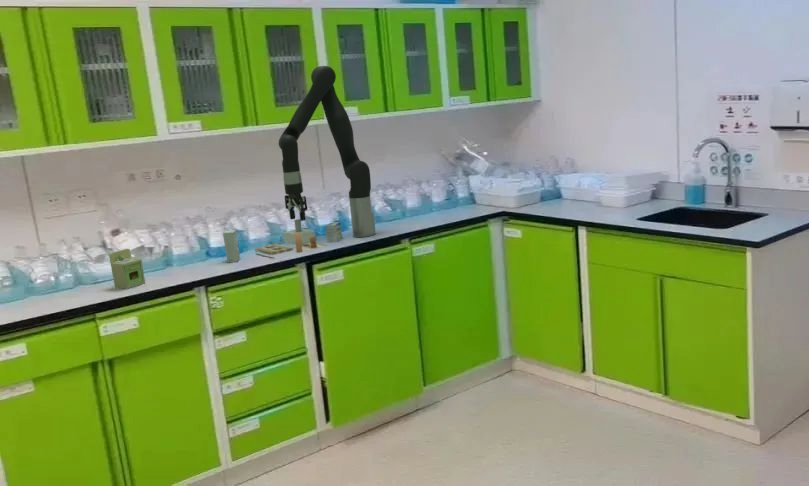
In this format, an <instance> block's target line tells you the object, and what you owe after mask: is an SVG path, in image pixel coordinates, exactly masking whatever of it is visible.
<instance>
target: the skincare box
mask: <svg viewBox="0 0 809 486" xmlns="http://www.w3.org/2000/svg"><path fill="white" fill-rule="evenodd" d="M222 237H223V242H224V249H225V255H226V261H227V263H237V262H238V261H240V260H241V255H240V249H239V243H238V236H237V230H236V229H232V230H226V231H224V232H223V233H222Z"/></svg>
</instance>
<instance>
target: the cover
mask: <svg viewBox="0 0 809 486" xmlns="http://www.w3.org/2000/svg"><path fill="white" fill-rule="evenodd" d="M293 220H294V227H295V229H292V230H291V229H290V230H288V231H283V232H282V233H283V240H284V243H287V244H291V245H294V246H296V242H295V233H301V241H302V245H303V244H308V243H310V237H316V232H315V230H312V229H307V228H302V221H301V220H300V218H299V219H293Z"/></svg>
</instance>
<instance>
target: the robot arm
mask: <svg viewBox="0 0 809 486" xmlns="http://www.w3.org/2000/svg"><path fill="white" fill-rule="evenodd" d="M336 75H337V74H336V72H335V70H334V69H333V67H331V66H328V65H321V66H316V67H315V68H314V69H313V70H312V72H311V75H310V79H311V83H312V84H311V87H310V89H309V91H308V92H307V95H306V96H305V97H304V98H303V100H302V102H300V104H299V105H298V107H297V108H296V110H295V112H294V113H293V115H292V116H291V119H290V121H289V123H288V125H287V126H286V128H285V129H284V130H283V132H282V133H281V135H280V136H279V139H278V146H279V149H280V150H281V154H282V161H281V166H282V173H283V178H282V179H283V185H284V193H285V194H286V195H284V205H285V209H286V210H288V212H289V219H290V220H296V212H295V208H296V209H297V210H298V212H299V219H300V220H301V222H304V221H306V220H307V219H306V211H308V205H307V204H308V203H307V197H306V195H302V193H303V192H304V188H303V179H302V173H301V167H300V163H299V144H298V139H299V138H300V136H301V135H302V134H303V133H304V132H305V131H306V128H308V125H309V123H310V121H311V120H312V118H313V116H314V114H315V111H316V110H317V108H318V106H319V104H320V103H321V105H322V109H323V112H324V115H325V119H326V121H327V125H328V128H329V130H330V133H331V135H332V137H333V140H334V143H335V146H336V148H337V151H338V153H339V156H340V159H341V164H342V168H343V172H344V175H345V176H346V178H347V179H349V181H350V182H349V183H350V189H349V191H348V199H349V207H350V219H351V228H352V230H351V231H352V237H354V238H365V237H366V238H367V237H371V236H374V235H376V233H377V232H376V223H375V213H374V212H372V201H371V190H372V189H371V187H372V185H371V183H372V182H371V172H370V171H371V170H370V167H369V164H368V163H366V162H365V161H363V160H361V159H360V158H359V155H358V153H357V150H356V147H355V141H354V139H355V138H354V130H353V126H352V123H351V120H350V118H349V115H348V112H347V111H346V108H345V107H344V105H343V104H342V103H341V100H340V99H339V97H338V95H337V93H336V92H337V91H336V89H335V85H334V84H335V82H336V78H337V76H336Z"/></svg>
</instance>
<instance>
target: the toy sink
mask: <svg viewBox="0 0 809 486" xmlns="http://www.w3.org/2000/svg"><path fill="white" fill-rule="evenodd" d="M108 256H109V262H110V267H111V273H112V278H113V284H114V285H113V286H114V288H116V289H121V290H129V289H131V288H134V287H137V286H140V285H144V284H146V278H145V273H144V268H143V267H144V266H143V259H142V258H139V257H132V254H131V249H130V248H123V249H120V250H116V251H112V252H110V253H109V254H108Z"/></svg>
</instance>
